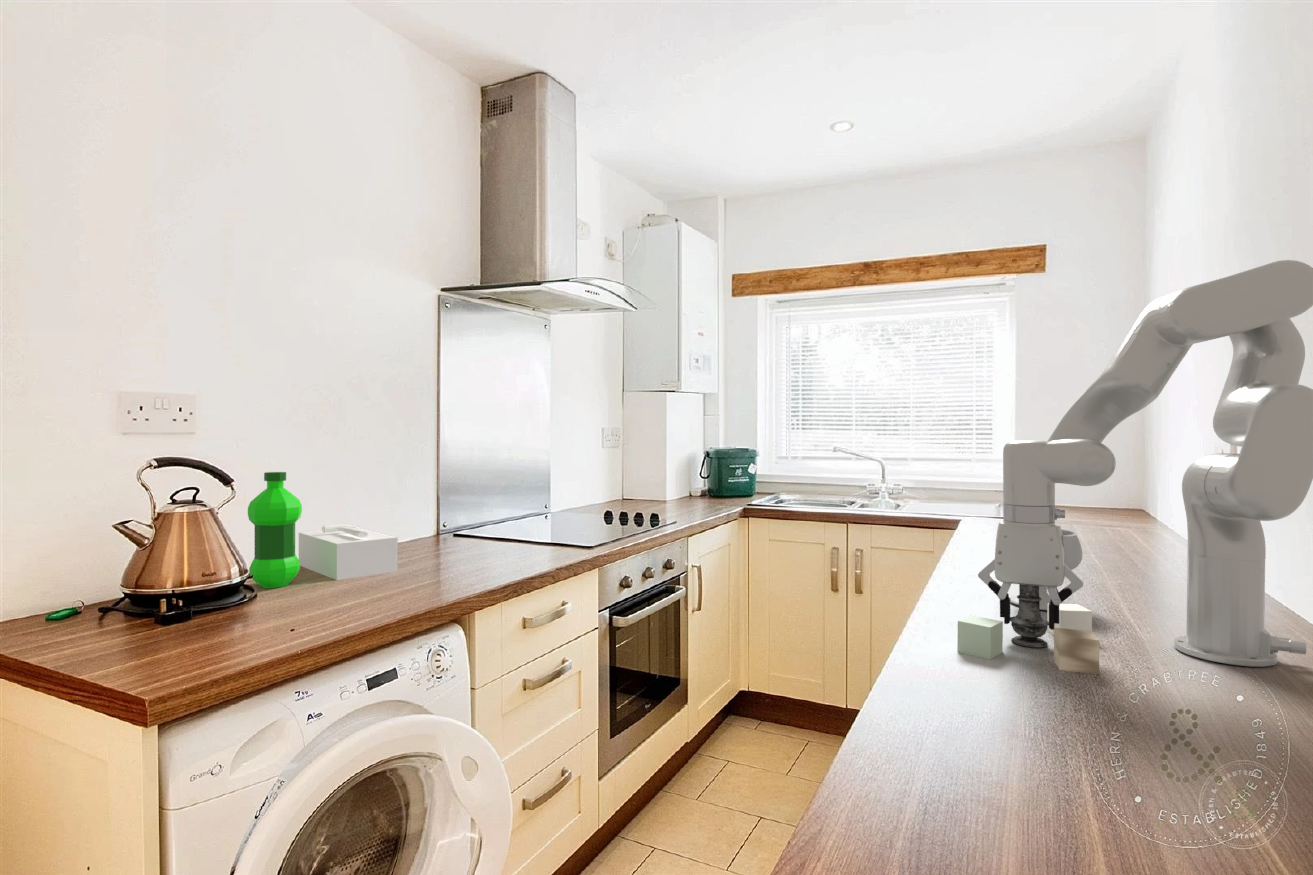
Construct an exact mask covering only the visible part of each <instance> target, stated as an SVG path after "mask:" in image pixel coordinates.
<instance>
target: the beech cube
mask: <svg viewBox="0 0 1313 875" xmlns="http://www.w3.org/2000/svg"><path fill="white" fill-rule="evenodd" d="M1053 661H1054V663H1055V665H1056V666H1057V668H1058V670H1059V671H1065V672H1075V673H1083V672H1084V673H1085V674H1092V675H1100V639H1099V638H1098V637H1097V636H1096V634H1095V633H1094V632H1093V630H1092V631H1085V630H1074V629H1063V628H1054V635H1053Z"/></svg>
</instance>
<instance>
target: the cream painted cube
mask: <svg viewBox="0 0 1313 875" xmlns="http://www.w3.org/2000/svg"><path fill="white" fill-rule="evenodd" d="M1046 612H1047V614H1046V619H1047V621H1048V622H1049V603H1047V610H1046ZM1054 628H1063V629H1074V630H1085V631H1092V632H1093V611H1092V610H1091V609H1088V608H1086V607H1085V606H1082V605H1080V604H1078V603H1073V604H1060V605H1059V624H1056V623H1055V626H1054ZM1046 632H1047V633H1049V634H1051V635H1052V636H1054V630H1052V629H1050V628H1049V625H1048V626H1047V631H1046Z"/></svg>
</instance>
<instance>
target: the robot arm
mask: <svg viewBox="0 0 1313 875" xmlns="http://www.w3.org/2000/svg"><path fill="white" fill-rule="evenodd" d="M1312 307H1313V267H1312V266H1311V265H1309V264H1307V263H1305V262H1302V261H1299V260H1293V259H1291V260H1290V259H1283V260H1277V261H1274V262H1269V263H1266V264H1263V265H1261V266H1260V265H1259V266H1256V267H1255V268H1251V269H1248V270H1244V271H1242V272H1241V271H1240V272H1238V273H1235V274H1232V275H1228V276H1226V277H1222V278H1219V279H1215V280H1211V281H1208V282H1203V283H1199V284H1196V285H1192V286H1189V287H1186V288H1182V289H1180V290H1177V291H1174V292H1171V293H1168V294H1166V295H1163V296H1160V297H1158V298H1156V299H1154V300H1152V301H1151V302H1150V303H1149V304H1148V305H1147V306H1146V307H1145V308H1144V309H1143V310H1142V312H1141V313H1140V314H1139V315H1138V317H1137V319H1136V320H1135V321H1134V323H1133V325H1132V327H1131V328H1130V330H1129V331H1128V332H1127V334H1126V336H1125V337H1124V339H1123V340H1122V342H1121V343H1120V345H1119V346H1118V348H1117V350H1116V351H1115V353H1114V354H1113V355H1112V357H1111V359H1110V360H1109V362H1108V364H1107V365H1106V366H1105V368H1104V370H1103V371H1102V372H1101V374H1100V375H1099V376H1098V378H1096V379H1095V380H1094V382H1092V384H1091V385H1090V386H1089V387H1088V388H1087V389H1086V390H1085V392H1083V393H1082V395H1081V396H1080V397H1079V398H1078V400H1076V401H1075V403H1073V405H1072V406H1070V408H1069V409H1068V410H1067V412H1066V413H1065V414H1064V415H1063V417H1062V418H1061V420H1060V421H1059V422H1058V424H1057V425H1056V427H1055V429H1054V430H1053V431H1052V433H1051V435H1050V437H1049V438H1048V440H1047V441H1046V440H1012V441H1008V442H1007V443H1006V444H1004V447H1003V451H1002V456H1003V457H1002V475H1003V476H1002V479H1003V480H1002V481H1003V482H1002V483H1003V484H1002V486H1003V487H1002V488H1003V489H1002V490H1003V492H1002V494H1003V495H1002V499H1003V500H1002V501H1003V503H1002V507H1003V512H1002V514H1003V516H1002V517H1003V518H1002V519H1003V521H1002V520H1000V521H999V522H998V525H997V530H996V538H995V547H994V549H995V550H994V551H995V552H994V558H993V560H992V561H991V562H990V563H988V564H987V565H986V566H984V568H982V569H981V570H980V571H979V572H978V574H977V577H978V578H979V579H980V580H981V581H982V582H983V583H984V584H985V585H986V586H987V587H988V588H989V589H990V590H991V591H992V592H993V593H994V594H995V595H996V596H997V598H998V599H999V617H1000V618H1003V619H1004V620H1003V625H1008V624H1010V622H1011V621H1010V620H1009V619H1010V617H1011V602H1010V596H1009V595H1010V594H1009V590H1010V588H1011V585H1012V584H1013V585H1019V584H1021V585H1031V586H1042V587H1046V589H1047V593H1048V594H1049V596H1050V597H1051V600H1050V602H1049V628H1050V629H1052V630H1054V626H1055V623H1056V624H1059V605H1060V604H1061V603H1062V602H1063V601H1064V600H1067V599H1068V598H1069V597H1070V596H1072V595H1074V593H1076V592H1077V591H1080V589H1082V588H1083V586H1084V581H1083V580H1082V579H1081V578H1080V577H1079V576H1078V575H1077V574H1076V573H1075V572H1074V571H1073V570H1071V569H1070V568H1069V567H1068V566H1067V565H1065V558H1064V544H1063V536H1062V531H1061V529H1062V528H1061V525H1060V524H1059V523H1056V521H1057V520H1058V519H1059V520H1060V519H1066V510H1065V509H1060V508H1058V507H1056V499H1055V498H1056V494H1055V493H1056V488H1055V487H1056V484H1065V485H1073V486H1080V487H1091V486H1097V485H1101V484H1102V483H1104V482H1106V481H1107V480H1109V479H1110V478H1111V477H1112V476H1113V474H1114V472H1115V470H1116V465H1117V461H1116V457H1115V455H1114V452H1113V451H1112V450H1111V449H1110V448H1109V447H1108V445H1105V444H1103V442H1104V439H1106V437H1107V436H1108V435H1109V434H1110V433H1111V432H1112V431H1113V430H1114V429H1115V427H1117V426H1118V425H1119V424H1121V422H1123V421H1124V420H1126V419H1127V418H1129V417H1131V416H1132V415H1134V414H1136V413H1138V412H1140V411H1141V410H1143V409H1145V408H1147V406H1149V405H1150V404H1151V403H1153V402H1154V401H1155V400H1156V399H1157V398H1158V397H1159V396H1160V395H1161V393H1162V391H1163V390H1164V388H1165V386H1166V385H1167V384H1168V383H1169V380H1170V379H1171V377H1172V375H1173V374H1174V373H1175V371H1176V370H1177V368H1178V367H1179V365H1180V364H1181V362H1182V361H1183V359H1184V358H1185V356H1186V355H1187V354H1188V352H1189V351H1190V349H1191V347H1192V346H1193V345H1195V344H1199V343H1203V342H1207V341H1212V340H1217V339H1220V338H1224V337H1227V336H1228V337H1229V338H1230V339H1229V340H1230V342H1231V344H1232V350H1233V351H1232V352H1233V353H1232V358H1231V359H1232V360H1231V363H1230V366H1229V371H1228V374H1227V377H1226V380H1225V383H1224V385H1223V388H1222V392H1221V394H1220V396H1219V400H1218V402H1217V405H1216V408H1215V411H1214V414H1213V417H1212V428H1213V431H1214V433H1215V434H1216V436H1217V437H1218V438H1219V439H1220V440H1221V441H1223V442H1224V443H1227V444H1229V445H1232V446H1234V447H1235V446H1236V447H1240V448H1241V449H1240V452H1239V453H1232V452H1231V453H1230V452H1229V453H1227V452H1226V453H1224V452H1222V453H1220V452H1217V453H1212V454H1208V455H1204V456H1202V457H1199V458H1198V459H1196V460H1195V461H1193V462H1191V464H1189V466H1188V467H1187V469H1186V470H1185V472H1184V474H1183V476H1182V482H1181V494H1182V500H1183V504H1184V511H1185V515H1186V524H1187V525H1186V527H1187V528H1186V529H1187V562H1186V565H1187V570H1186V573H1187V574H1186V576H1187V578H1186V635H1182V636H1178V637H1176V638H1174V642H1173V645H1174V648H1175V649H1176V650H1178V651H1179V652H1181V653H1183V654H1186V655H1189V656H1191V657H1193V658H1198V659H1201V660H1205V661H1209V662H1214V663H1219V664H1220V663H1221V664H1224V665H1225V664H1226V665H1231V666H1241V667H1252V668H1253V667H1254V668H1255V667H1259V668H1260V667H1261V668H1262V667H1270V666H1275V665H1276V664H1277V663H1278V655H1277V654H1278V653H1279V651H1280V652H1287V653H1290V654H1298V655H1306V654H1307V644H1306V641H1303V640H1297V639H1295V640H1294V639H1291V638H1290V637H1284V636H1277V635H1271V634H1270V633H1269V631H1268V630H1266V629H1265V606H1266V605H1265V601H1266V600H1265V599H1266V598H1265V597H1266V591H1265V590H1266V589H1265V588H1266V553H1267V551H1266V549H1267V548H1266V537H1265V533H1264V528H1263V525H1262V522H1261V521H1263V522H1269V521H1270V522H1272V521H1277V520H1281V519H1284V518H1286V517H1288V516H1290V515H1291V514H1293V513H1295V511H1296V510H1298V509H1299V508H1300V506H1301V505H1302V504H1303V502H1304V501H1305V499H1306V497H1307V495H1308V492H1309V490H1310V488H1311V484H1312V481H1313V388H1311V387H1309V386H1306V385H1303V384H1299V382H1300V379H1301V376H1302V371H1303V368H1304V364H1305V359H1306V347H1305V343H1304V340H1303V337H1302V335H1301V333H1300V332H1299V330H1298V329H1297V327H1296V325H1295V323H1294V322H1293V321H1292V320H1291V319H1293V318H1295V317H1298V316H1300V315H1302V314H1304V313H1305V312H1307V311H1308V310H1310V309H1311V308H1312ZM993 572H994V577H995V579H996V580H997V581H998V582H1000V583H1002V584H1001V585H1000V584H999V583H998V582H997V581H996V580H994V579H993V577H992V576H990V575H991V574H992V573H993ZM1065 579H1067V580H1068V581H1069V582H1070V583H1069V584H1068V585H1067V586H1066V587H1064V588H1062V589H1061V590H1060V591H1059V588H1058V587H1060V586H1062V585H1063V583H1064V582H1065V581H1064V580H1065Z"/></svg>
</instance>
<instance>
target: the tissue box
mask: <svg viewBox="0 0 1313 875" xmlns="http://www.w3.org/2000/svg"><path fill="white" fill-rule="evenodd" d="M398 541H399V538H398V536H394V535H389V534H385V533H382V532H377V531H374V530H373V531H372V530H369V529H365V528H362V527H361V528H360V527H359V526H356V525H353V524H352V525H351V524H346V523H344V524H343V523H342V524H329V525H322V529H321V530H313V531H310V530H309V531H299V532H298V560H299V562H300V567H302V568H304V569H308V570H310V571H312V572H315V573H317V574H319V575H323V576H325V577H328V578H331V579H332V580H335V581H341V580H348V579H354V578H356V579H357V578H361V577H369V576H375V575H376V576H377V575H382V574H390V573H397V572H399V571H398V569H399V568H398V567H399V566H398V564H399V563H398V562H399V561H398V560H399V559H398V558H399V557H398V553H399V552H398V550H399V546H398V544H399V543H398Z"/></svg>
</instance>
